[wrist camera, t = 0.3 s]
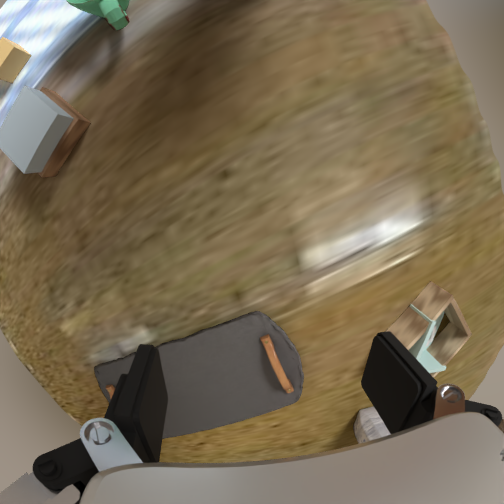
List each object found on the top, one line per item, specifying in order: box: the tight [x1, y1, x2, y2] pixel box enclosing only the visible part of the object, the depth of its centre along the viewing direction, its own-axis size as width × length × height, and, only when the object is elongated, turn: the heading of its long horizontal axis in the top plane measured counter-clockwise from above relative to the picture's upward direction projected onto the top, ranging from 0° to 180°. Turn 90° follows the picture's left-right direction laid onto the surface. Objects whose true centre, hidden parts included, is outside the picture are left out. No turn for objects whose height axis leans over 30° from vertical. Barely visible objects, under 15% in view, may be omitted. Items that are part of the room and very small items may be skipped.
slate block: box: [0, 86, 74, 174], centre depth 27 cm, size 9×9×4 cm
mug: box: [67, 0, 129, 30], centre depth 24 cm, size 15×10×10 cm
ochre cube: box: [0, 37, 32, 83], centre depth 24 cm, size 6×6×6 cm
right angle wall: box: [409, 304, 446, 373], centre depth 47 cm, size 12×12×8 cm
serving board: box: [94, 311, 304, 439], centre depth 45 cm, size 39×23×6 cm, turn 111°
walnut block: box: [37, 87, 91, 178], centre depth 31 cm, size 10×10×4 cm
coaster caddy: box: [385, 281, 472, 378], centre depth 47 cm, size 16×16×7 cm
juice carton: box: [353, 406, 391, 444], centre depth 44 cm, size 9×10×27 cm
